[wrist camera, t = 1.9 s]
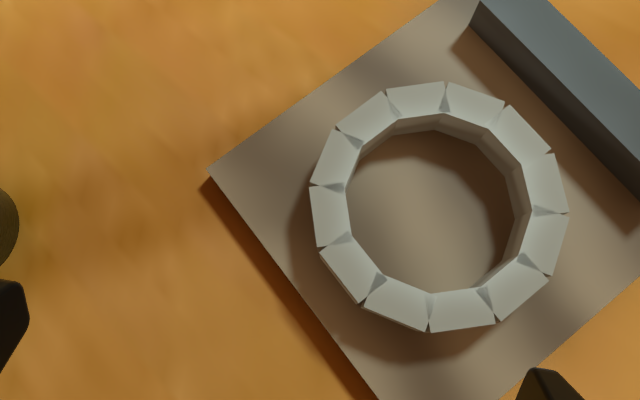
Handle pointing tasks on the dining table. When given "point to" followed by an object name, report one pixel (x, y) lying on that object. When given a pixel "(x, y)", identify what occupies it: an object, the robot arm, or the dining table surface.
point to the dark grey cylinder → (7, 225)
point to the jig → (453, 197)
